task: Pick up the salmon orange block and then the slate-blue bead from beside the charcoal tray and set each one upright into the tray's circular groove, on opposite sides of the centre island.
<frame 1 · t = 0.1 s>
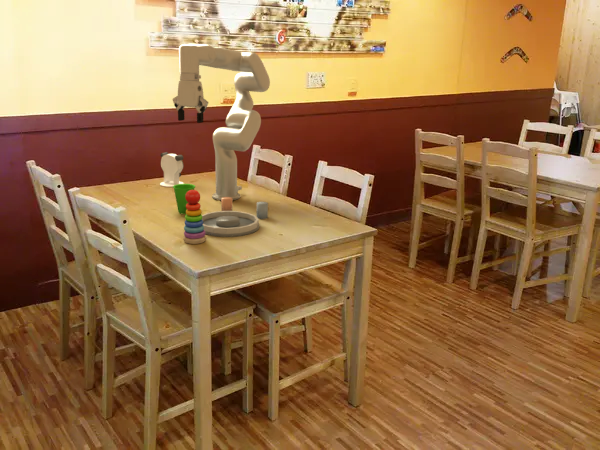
hand: (190, 121, 233), 37 cm above the table, tool pointing down, fingers open, 9 cm apart
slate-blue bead: (262, 217, 237), on the table
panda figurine: (172, 184, 285), on the table
cup: (184, 212, 240), on the table
stacking toy: (194, 241, 207), on the table
salmon orange block: (227, 212, 242), on the table
groove tray: (227, 226, 223), on the table
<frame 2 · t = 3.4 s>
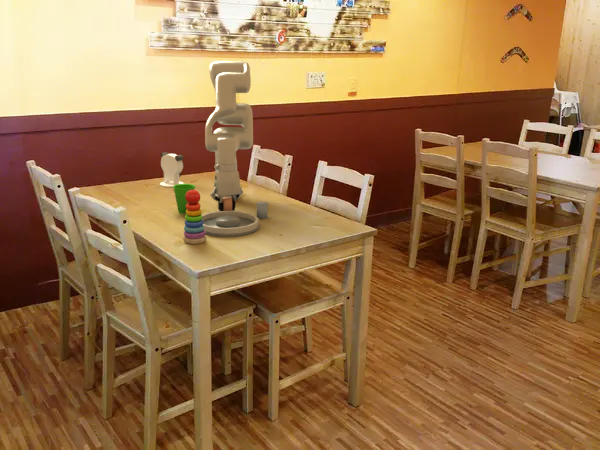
hand: (227, 210, 242), 1 cm above the table, tool pointing down, fingers closed on salmon orange block, 4 cm apart
salmon orange block: (227, 212, 242), on the table, touching gripper
everything else where it was.
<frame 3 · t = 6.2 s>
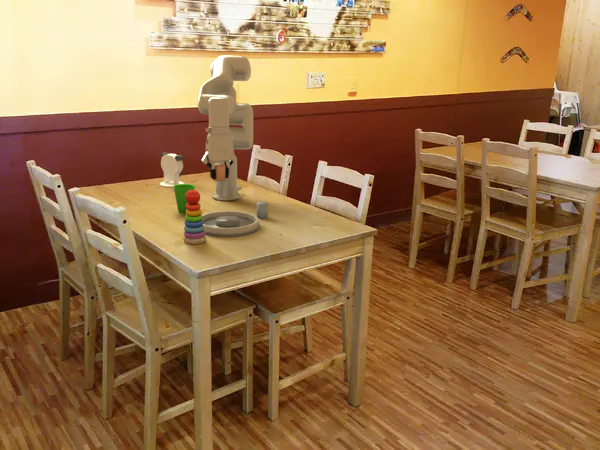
hand: (219, 177, 224), 18 cm above the table, tool pointing down, fingers closed on salmon orange block, 4 cm apart
salmon orange block: (219, 180, 225), point 17 cm above the table, touching gripper
everything else where it was.
when the fingers open (3 cm above the table, at t = 9.3 s): salmon orange block stays where it is, resting on groove tray.
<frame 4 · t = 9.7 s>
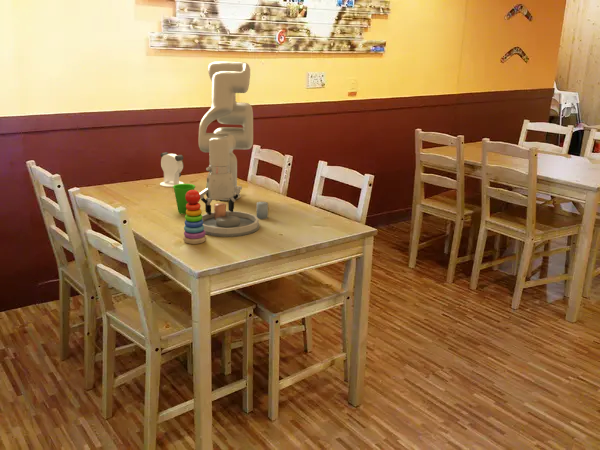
hand: (219, 212, 228), 4 cm above the table, tool pointing down, fingers open, 9 cm apart
salmon orange block: (220, 219, 229), point 1 cm above the table, touching groove tray
everything else where it was.
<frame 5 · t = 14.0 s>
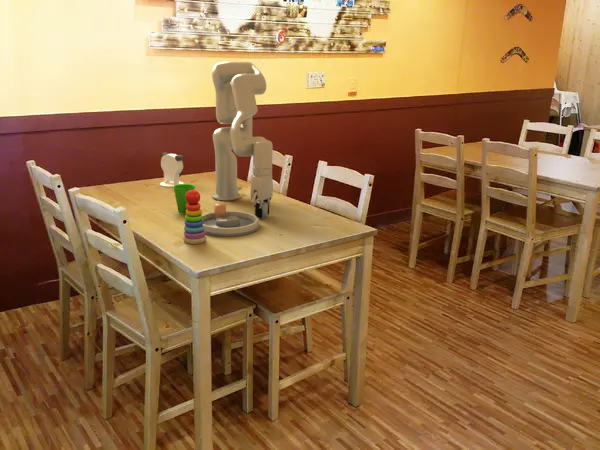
hand: (262, 215, 236), 1 cm above the table, tool pointing down, fingers closed on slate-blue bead, 4 cm apart
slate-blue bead: (262, 217, 237), on the table, touching gripper
everything else where it was.
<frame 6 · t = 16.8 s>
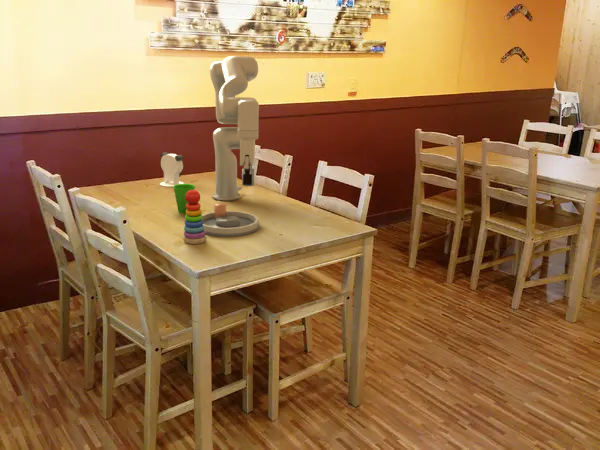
hand: (248, 182, 218), 18 cm above the table, tool pointing down, fingers closed on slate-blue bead, 4 cm apart
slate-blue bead: (248, 184, 219), point 17 cm above the table, touching gripper
everything else where it was.
when the fingers open (3 cm above the table, at t = 19.9 s): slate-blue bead stays where it is, resting on groove tray.
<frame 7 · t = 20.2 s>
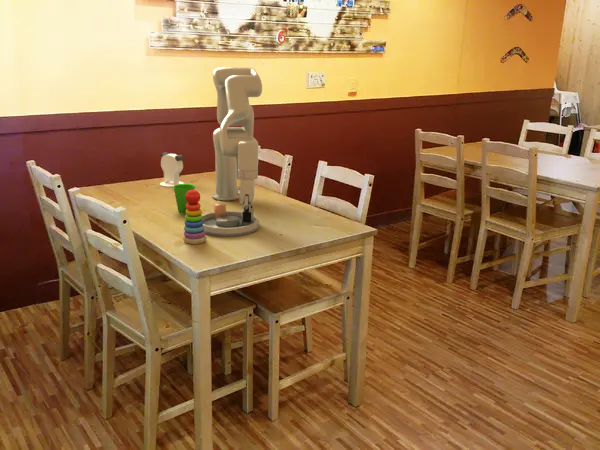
hand: (247, 218, 223), 3 cm above the table, tool pointing down, fingers open, 7 cm apart
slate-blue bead: (247, 224, 223), point 1 cm above the table, touching groove tray
everything else where it was.
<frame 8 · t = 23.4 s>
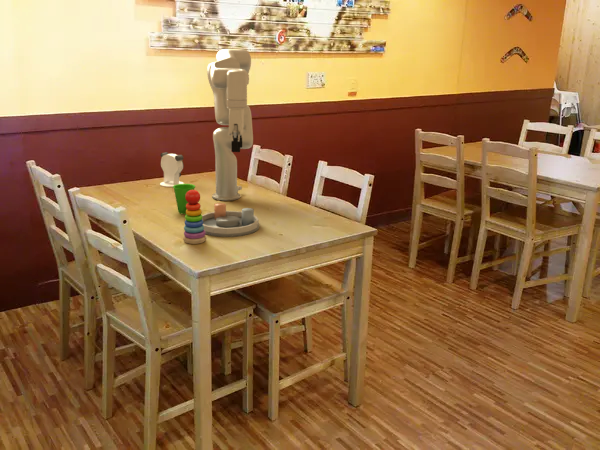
hand: (237, 149, 223), 28 cm above the table, tool pointing down, fingers open, 9 cm apart
nothing on the table moved.
at the end: salmon orange block 0.1 cm from the target spot on the groove tray, point 1.0 cm above the groove tray's base; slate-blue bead 0.0 cm from the target spot on the groove tray, point 1.0 cm above the groove tray's base; the gripper is holding nothing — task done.
